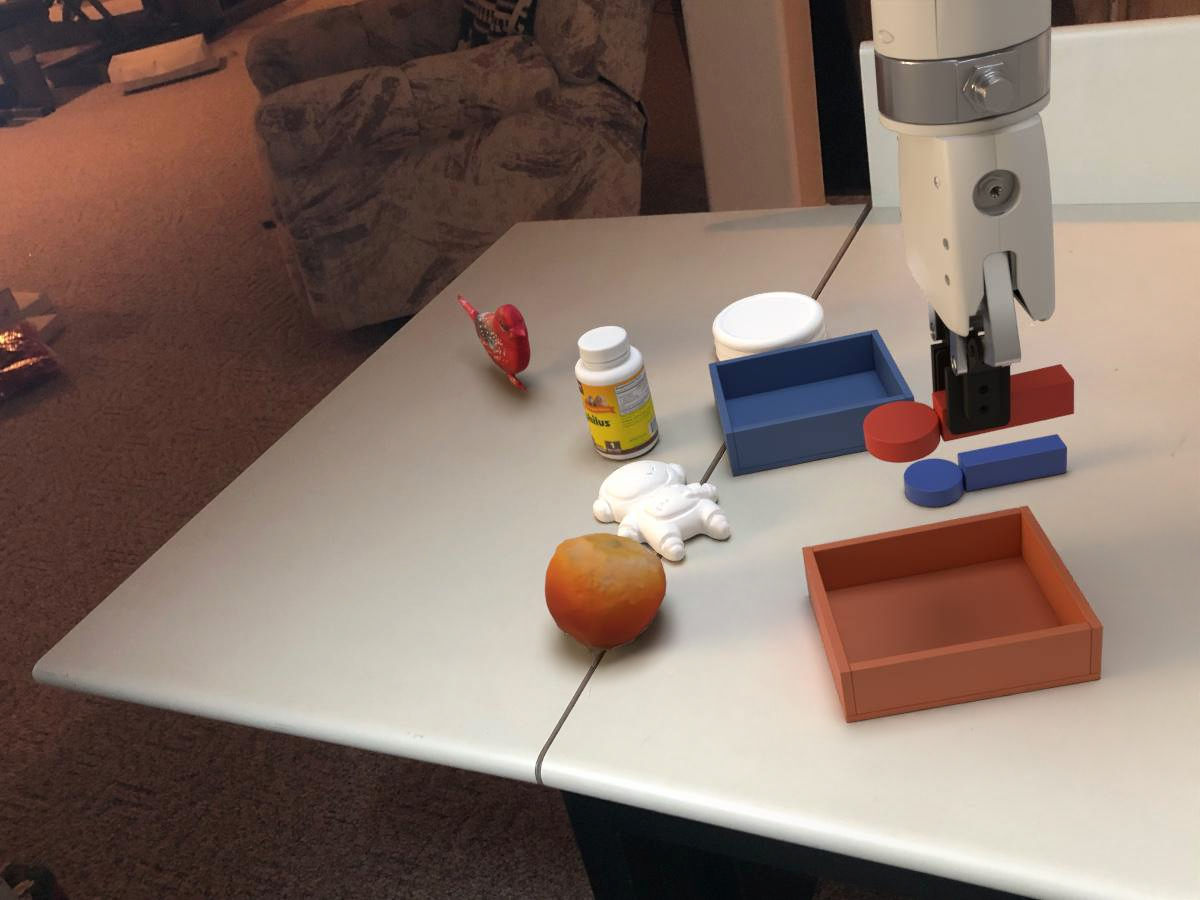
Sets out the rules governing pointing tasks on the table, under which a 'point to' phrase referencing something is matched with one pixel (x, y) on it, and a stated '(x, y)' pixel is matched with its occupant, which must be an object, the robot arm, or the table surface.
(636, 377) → the supplement bottle
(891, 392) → the blue tray
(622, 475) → the astronaut figurine
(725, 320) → the white round container
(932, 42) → the robot arm
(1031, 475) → the blue spoon
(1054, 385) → the red spoon
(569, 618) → the fruit
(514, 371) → the decorative bird figurine
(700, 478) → the table surface
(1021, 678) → the terracotta tray
